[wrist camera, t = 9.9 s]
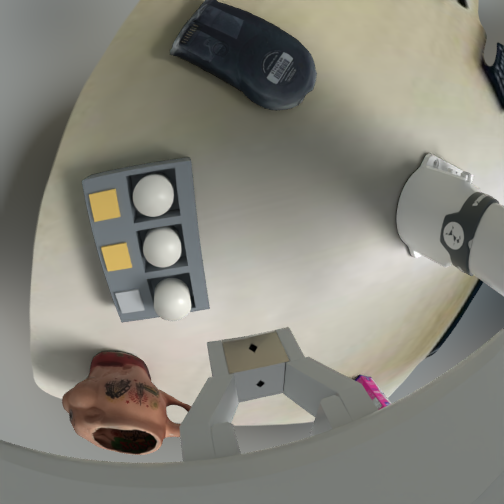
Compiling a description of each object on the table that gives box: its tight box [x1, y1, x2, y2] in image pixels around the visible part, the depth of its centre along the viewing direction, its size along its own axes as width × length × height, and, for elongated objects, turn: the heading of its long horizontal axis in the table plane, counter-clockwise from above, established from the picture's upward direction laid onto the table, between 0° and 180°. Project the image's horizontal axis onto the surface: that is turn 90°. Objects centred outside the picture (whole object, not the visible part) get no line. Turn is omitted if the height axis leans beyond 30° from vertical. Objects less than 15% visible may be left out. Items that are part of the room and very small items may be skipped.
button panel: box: [82, 157, 210, 322], centre depth 28 cm, size 11×17×4 cm, turn 3°
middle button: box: [143, 225, 181, 267], centre depth 28 cm, size 4×4×2 cm
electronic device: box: [170, 0, 317, 110], centre depth 22 cm, size 10×6×15 cm
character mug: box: [62, 352, 191, 455], centre depth 31 cm, size 20×12×14 cm, turn 79°
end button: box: [133, 172, 174, 217], centre depth 25 cm, size 4×4×2 cm
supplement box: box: [355, 375, 392, 410], centre depth 53 cm, size 6×6×12 cm
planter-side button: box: [154, 278, 191, 321], centre depth 28 cm, size 4×4×2 cm
